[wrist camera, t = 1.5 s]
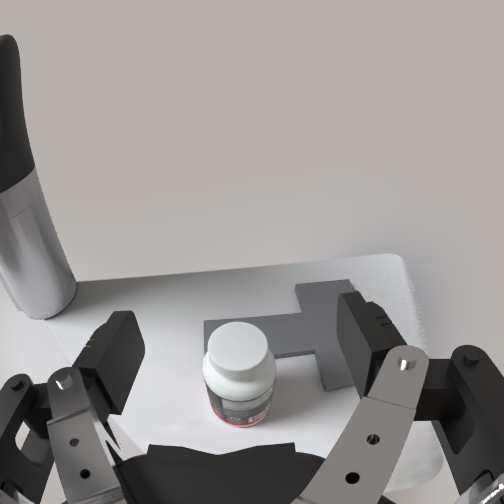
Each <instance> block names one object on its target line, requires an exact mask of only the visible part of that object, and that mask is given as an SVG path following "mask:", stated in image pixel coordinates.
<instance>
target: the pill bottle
mask: <svg viewBox="0 0 504 504" xmlns="http://www.w3.org/2000/svg"><path fill="white" fill-rule="evenodd" d="M202 369H203V377H204V381H205V384H206V387H207V391H208V396H209V400H210V403H211V406H212V409H213V411H214V413H215V415H216V416H217V417H218V418H219V419H220V420H221V421H222V422H224V423H225V424H227V425H230V426H234V427H248V426H252V425H255V424H256V423H258V422H259V421H261V420H262V419H263V418H264V417H265V416H266V414H267V412H268V410H269V407H270V404H271V399H272V393H273V387H274V383H275V376H276V362H275V359H274V356H273V354H272V353H271V351H270V350H269V349H268V341H267V338H266V336H265V334H264V333H263V332H262V331H261V330H260V329H259V328H258V327H256V326H254V325H252V324H249V323H246V322H230V323H227V324H224V325H222V326H220V327H218V328H217V329H216V330H215V331H214V332H213V333H212V334H211V336H210V338H209V341H208V351H207V353H206V355H205V357H204V360H203V366H202Z"/></svg>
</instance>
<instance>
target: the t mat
mask: <svg viewBox="0 0 504 504" xmlns="http://www.w3.org/2000/svg"><path fill="white" fill-rule="evenodd" d="M295 291H296V294H297V297H298V300H299V304H300V307H301V310H302V313H294V314H284V315H273V316H262V317H250V318H237V319H222V320H206V321H204V352H205V355H206V353H207V351H208V341H209V338H210V336H211V334H212V333H213V332H214V331H215V330H216V329H217V328H218V327H220V326H222V325H224V324H227V323H230V322H246V323H249V324H252V325H254V326H256V327H258V328H259V329H260V330H261V331H262V332H263V333H264V334H265V336H266V338H267V341H268V349H269V350H270V351H271V353H272V354H273V356H274V359H275V358H284V357H292V356H300V355H307V354H315V357H316V360H317V364H318V367H319V371H320V374H321V378H322V381H323V385H324V388H325V391H329V390H335V389H340V388H344V387H349V386H354V385H355V383H354V381H353V378H352V375H351V373H350V370H349V368H348V365H347V363H346V360H345V357H344V355H343V352H342V350H341V347H340V345H339V342H338V338H337V330H336V326H337V306H338V295H339V293H345V292H352V291H354V289H353V287H352V285H351V283H350V281H349V279H347V280H337V281H326V282H315V283H304V284H296V286H295Z"/></svg>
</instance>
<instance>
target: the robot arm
mask: <svg viewBox="0 0 504 504" xmlns="http://www.w3.org/2000/svg"><path fill="white" fill-rule="evenodd" d="M0 281H1V282H2V284H3V286H4V288H5V289H6V291H7V293H8V294H9V296H10V298H11V299H12V301H13V303H14V304H15V306H16V307H17V309H18V310H22V311H24V313H25V314H26V315H27V316H28V317H30V318H32V319H47V318H49V317H52V316H54V315H56V314H58V313H59V312H61V311H62V310H63V309H65V308H66V307H67V306H68V305H69V303H70V302H71V301H72V299H73V297H74V295H75V293H76V289H77V283H76V280H75V278H74V276H73V273H72V271H71V269H70V266H69V264H68V262H67V259H66V256H65V254H64V251H63V249H62V247H61V244H60V241H59V239H58V237H57V233H56V231H55V228H54V225H53V223H52V220H51V217H50V214H49V211H48V208H47V205H46V202H45V198H44V195H43V192H42V189H41V185H40V182H39V178H38V175H37V171H36V167H35V163H34V159H33V155H32V152H31V147H30V143H29V139H28V134H27V129H26V123H25V118H24V109H23V100H22V87H21V69H20V57H19V50H18V46H17V43H16V41H15V39H14V38H13V36H11V35H8V34H7V35H2V36H0ZM336 330H337V338H338V342H339V345H340V347H341V350H342V352H343V355H344V357H345V360H346V363H347V365H348V368H349V370H350V373H351V375H352V378H353V381H354V383H355V386H356V389H357V391H358V394H359V397H360V399H361V401H360V403H359V404H358V406H357V408H356V410H355V412H354V413H353V415H352V417H351V419H350V421H349V422H348V424H347V426H346V427H345V429H344V431H343V432H342V434H341V436H340V437H339V439H338V441H337V442H336V444H335V446H334V447H333V449H332V450H331V452H330V453H329V455H328V457H327V458H326V459H325V458H322V457H320V456H316V455H313V454H308V453H301V452H296V451H295V444H294V442H293V443H284V444H274V445H262V446H254V447H251V448H247V449H243V450H239V451H235V452H230V453H226V454H221V455H215V454H210V453H206V452H201V451H197V450H193V449H189V448H185V447H179V446H163V445H151V444H149V447H148V451H147V454H143V455H139V456H135V457H132V458H129V459H128V458H127V457H126V455H125V453H124V451H123V449H122V447H121V445H120V443H119V441H118V439H117V437H116V435H115V433H114V430H113V428H112V426H111V424H110V422H109V420H108V416H109V414H116V415H121V414H122V411H123V409H124V406H125V403H126V401H127V398H128V396H129V393H130V390H131V388H132V385H133V383H134V380H135V378H136V375H137V373H138V370H139V368H140V365H141V363H142V360H143V358H144V355H145V345H144V341H143V338H142V335H141V332H140V329H139V326H138V323H137V320H136V317H135V315H134V313H133V312H132V311H114V312H113V313H112V315H111V316H110V318H109V319H108V321H107V322H106V323H104V324H103V325H101V326H100V327H99V328H98V329H96V330H95V332H94V333H93V335H92V336H91V338H90V340H89V341H88V342H87V344H86V347H84V348H83V350H82V351H81V353H80V354H79V356H78V357H77V359H76V361H75V362H74V364H73V365H72V367H65V368H62V369H60V370H58V371H56V372H54V373H53V374H52V375H51V376H50V378H49V379H48V382H47V383H42V384H33V382H32V381H31V379H30V377H29V376H28V375H26V374H17V375H15V376H13V377H11V378H10V379H8V381H7V382H6V383H5V384H4V386H3V387H2V389H1V390H0V504H40V502H41V498H42V495H43V492H44V489H45V486H46V483H47V480H48V477H49V474H50V471H51V468H52V466H53V463H54V460H55V463H56V467H57V471H58V474H59V478H60V481H61V484H62V487H63V490H64V494H65V497H66V499H67V500H66V501H65V502H63V503H62V504H396V503H394V502H392V501H391V500H389V499H388V498H386V497H384V496H383V495H382V493H383V491H384V489H385V487H386V485H387V483H388V481H389V479H390V477H391V474H392V472H393V470H394V468H395V465H396V463H397V461H398V458H399V456H400V454H401V451H402V449H403V446H404V444H405V441H406V439H407V436H408V433H409V431H410V428H411V425H412V422H413V421H430V420H431V422H432V425H433V427H434V429H435V432H436V434H437V437H438V439H439V441H440V444H441V446H442V449H443V451H444V454H445V456H446V459H447V462H448V464H449V467H450V469H451V472H452V475H453V478H454V481H455V483H456V486H457V489H458V492H459V495H460V497H459V498H458V499H457V500H456V502H455V504H504V377H503V375H502V374H501V373H500V371H499V370H498V368H497V367H496V366H495V364H494V363H493V362H492V361H491V359H490V358H489V356H488V355H487V354H486V353H485V352H484V351H483V350H482V349H480V348H478V347H476V346H472V345H463V346H459V347H458V348H456V349H455V350H454V351H453V353H452V356H451V359H429V358H428V356H427V355H426V353H425V352H424V351H422V350H421V349H419V348H417V347H414V346H409V345H407V344H406V342H405V341H404V339H403V338H402V336H401V335H400V333H399V332H398V330H397V329H396V327H395V326H394V324H392V321H391V320H390V318H389V317H388V315H387V314H386V313H385V311H384V310H383V308H382V307H380V306H379V305H377V304H375V303H374V302H365V300H364V298H363V297H362V295H361V294H360V292H359V291H352V292H345V293H339V295H338V306H337V326H336ZM23 421H24V422H25V424H26V425H27V426H28V427H29V429H30V431H29V434H28V435H27V438H26V440H25V442H24V444H23V446H22V449H21V451H20V450H19V449H18V447H17V445H16V442H15V437H16V434H17V432H18V430H19V428H20V426H21V424H22V422H23Z"/></svg>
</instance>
